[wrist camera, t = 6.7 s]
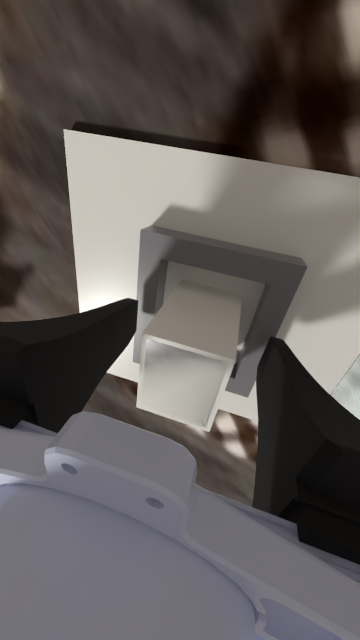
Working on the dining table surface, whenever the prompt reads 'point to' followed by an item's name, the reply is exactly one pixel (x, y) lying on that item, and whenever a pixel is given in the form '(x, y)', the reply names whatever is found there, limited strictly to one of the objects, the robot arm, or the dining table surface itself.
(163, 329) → the light grey box
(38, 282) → the dining table surface
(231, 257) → the socket plate
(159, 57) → the dining table surface
